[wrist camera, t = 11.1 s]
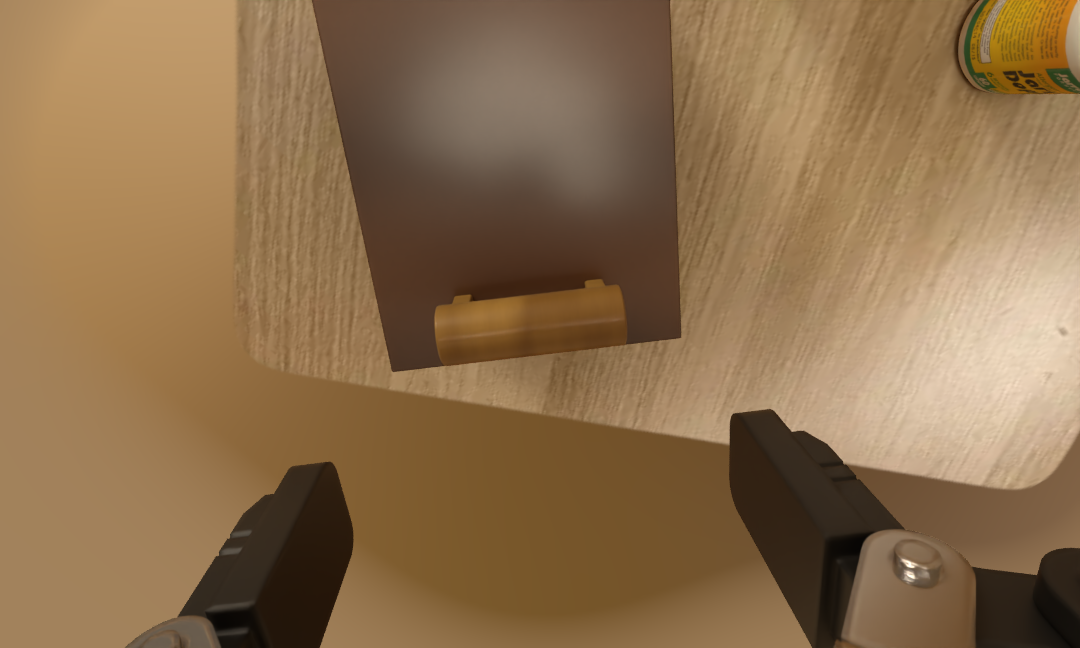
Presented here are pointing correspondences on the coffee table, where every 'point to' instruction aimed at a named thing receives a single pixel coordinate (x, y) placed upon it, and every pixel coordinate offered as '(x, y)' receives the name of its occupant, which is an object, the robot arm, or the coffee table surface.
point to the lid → (510, 171)
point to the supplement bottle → (1022, 46)
